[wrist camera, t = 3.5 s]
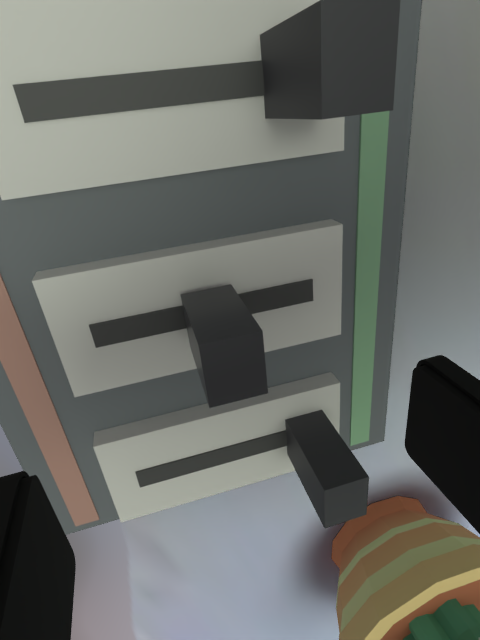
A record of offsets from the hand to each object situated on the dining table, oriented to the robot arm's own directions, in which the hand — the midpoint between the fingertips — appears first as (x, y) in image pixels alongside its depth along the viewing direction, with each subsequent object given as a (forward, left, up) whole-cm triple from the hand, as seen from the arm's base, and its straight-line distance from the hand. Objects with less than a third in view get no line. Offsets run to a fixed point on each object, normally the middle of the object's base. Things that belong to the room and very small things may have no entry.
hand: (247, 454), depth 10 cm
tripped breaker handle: (0, +1, -7) cm, 7 cm away
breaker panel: (0, +1, -12) cm, 12 cm away
